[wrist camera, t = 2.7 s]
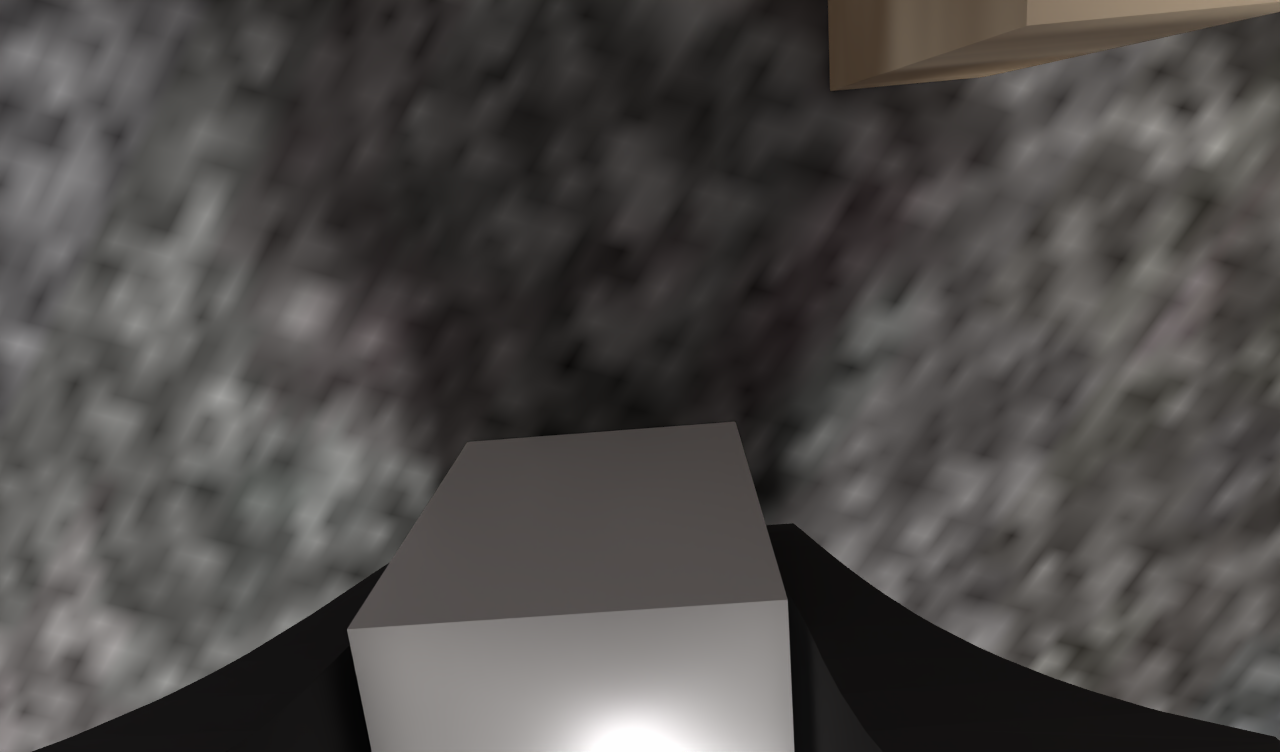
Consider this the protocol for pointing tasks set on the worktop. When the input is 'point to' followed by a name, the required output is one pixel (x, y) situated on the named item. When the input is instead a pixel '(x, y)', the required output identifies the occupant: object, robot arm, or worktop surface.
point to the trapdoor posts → (1000, 34)
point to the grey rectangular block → (583, 603)
